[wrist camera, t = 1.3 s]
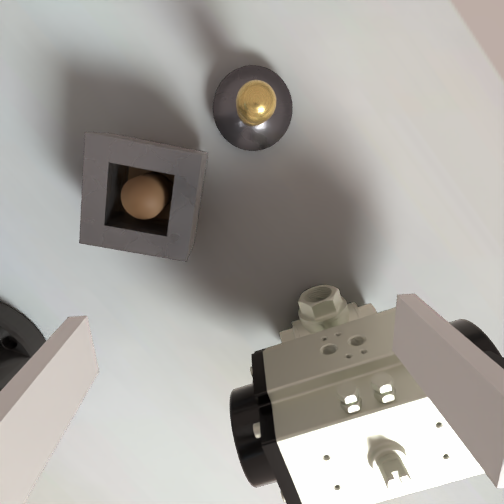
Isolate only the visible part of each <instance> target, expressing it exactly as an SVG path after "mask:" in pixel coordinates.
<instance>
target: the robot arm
mask: <svg viewBox="0 0 504 504" xmlns="http://www.w3.org/2000/svg"><path fill="white" fill-rule="evenodd" d="M392 351H393V352H394V353H395V355H396V356H397V357H398V358H399V360H400V361H401V362H402V364H403V365H404V366H405V368H406V369H407V370H408V372H409V373H410V374H411V376H412V377H413V378H414V380H415V381H416V382H417V384H418V385H419V386H420V388H421V389H422V390H423V391H424V393H425V394H426V395H427V397H428V398H429V399H430V401H431V402H432V403H433V405H434V406H435V407H436V409H437V410H438V411H439V413H440V414H441V415H442V417H443V418H444V419H445V421H446V422H447V423H448V424H449V426H450V427H451V428H452V430H453V431H454V432H455V434H456V435H457V436H458V438H459V439H460V440H461V442H462V443H463V444H464V446H465V447H466V448H467V450H468V451H469V452H470V454H471V455H472V456H473V457H474V459H475V460H476V461H477V463H478V464H479V465H480V467H481V468H482V469H483V471H484V472H485V473H486V475H487V476H488V477H489V479H490V480H491V481H492V483H493V484H494V485H495V487H496V488H504V358H503V357H501V356H499V355H497V354H495V353H493V352H491V351H482V350H480V349H479V348H478V347H477V346H476V345H474V344H473V343H472V342H471V341H470V340H469V339H467V338H466V337H465V336H464V335H463V334H462V333H460V332H459V331H458V330H457V329H456V328H454V327H453V326H452V325H451V324H450V323H449V322H447V321H446V320H445V319H444V318H443V317H442V316H440V315H439V314H438V313H437V312H436V311H434V310H433V309H432V308H431V307H430V306H429V305H427V304H426V303H425V302H424V301H423V300H421V299H420V298H419V297H418V296H417V295H416V294H402V295H397V302H396V313H395V325H394V336H393V347H392ZM98 373H99V368H98V364H97V359H96V354H95V350H94V345H93V340H92V336H91V331H90V326H89V322H88V317H87V316H75V317H68V318H67V319H66V320H65V321H64V322H63V323H62V325H61V326H60V327H59V328H58V329H57V330H56V331H55V332H54V333H53V334H52V335H51V337H50V338H49V339H48V340H47V341H45V339H44V338H43V336H42V335H41V333H40V332H39V331H38V329H37V328H36V327H35V326H34V325H33V324H32V323H31V322H30V321H29V320H28V319H27V318H25V317H24V316H23V315H22V314H20V313H19V312H17V311H16V310H14V309H12V308H11V307H9V306H7V305H5V304H3V303H0V504H24V503H25V501H26V500H27V498H28V496H29V494H30V493H31V491H32V489H33V487H34V486H35V484H36V482H37V480H38V479H39V477H40V475H41V473H42V471H43V470H44V468H45V466H46V464H47V463H48V461H49V459H50V457H51V456H52V454H53V452H54V450H55V449H56V447H57V445H58V443H59V442H60V440H61V438H62V436H63V435H64V433H65V431H66V429H67V427H68V426H69V424H70V422H71V420H72V419H73V417H74V415H75V413H76V412H77V410H78V408H79V406H80V405H81V403H82V401H83V399H84V398H85V396H86V394H87V392H88V391H89V389H90V387H91V385H92V383H93V382H94V380H95V378H96V376H97V375H98Z"/></svg>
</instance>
